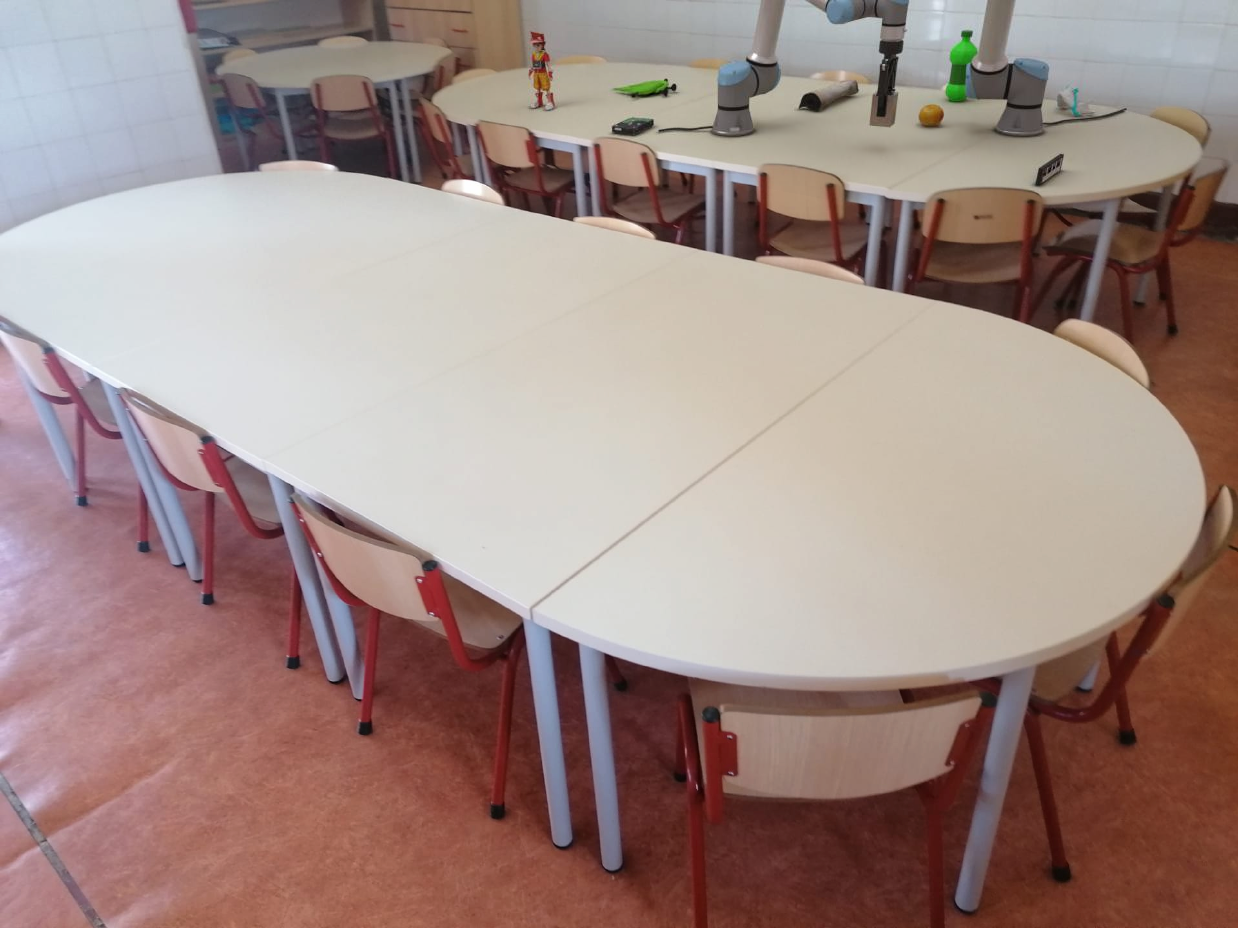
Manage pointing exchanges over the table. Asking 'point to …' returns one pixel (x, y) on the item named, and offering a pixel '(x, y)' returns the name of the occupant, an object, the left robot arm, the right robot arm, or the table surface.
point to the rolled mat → (828, 94)
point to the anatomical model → (1073, 101)
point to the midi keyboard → (1049, 169)
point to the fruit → (931, 115)
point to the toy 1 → (541, 71)
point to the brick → (889, 113)
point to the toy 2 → (648, 88)
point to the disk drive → (632, 126)
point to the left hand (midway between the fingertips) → (883, 114)
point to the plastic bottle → (960, 66)
